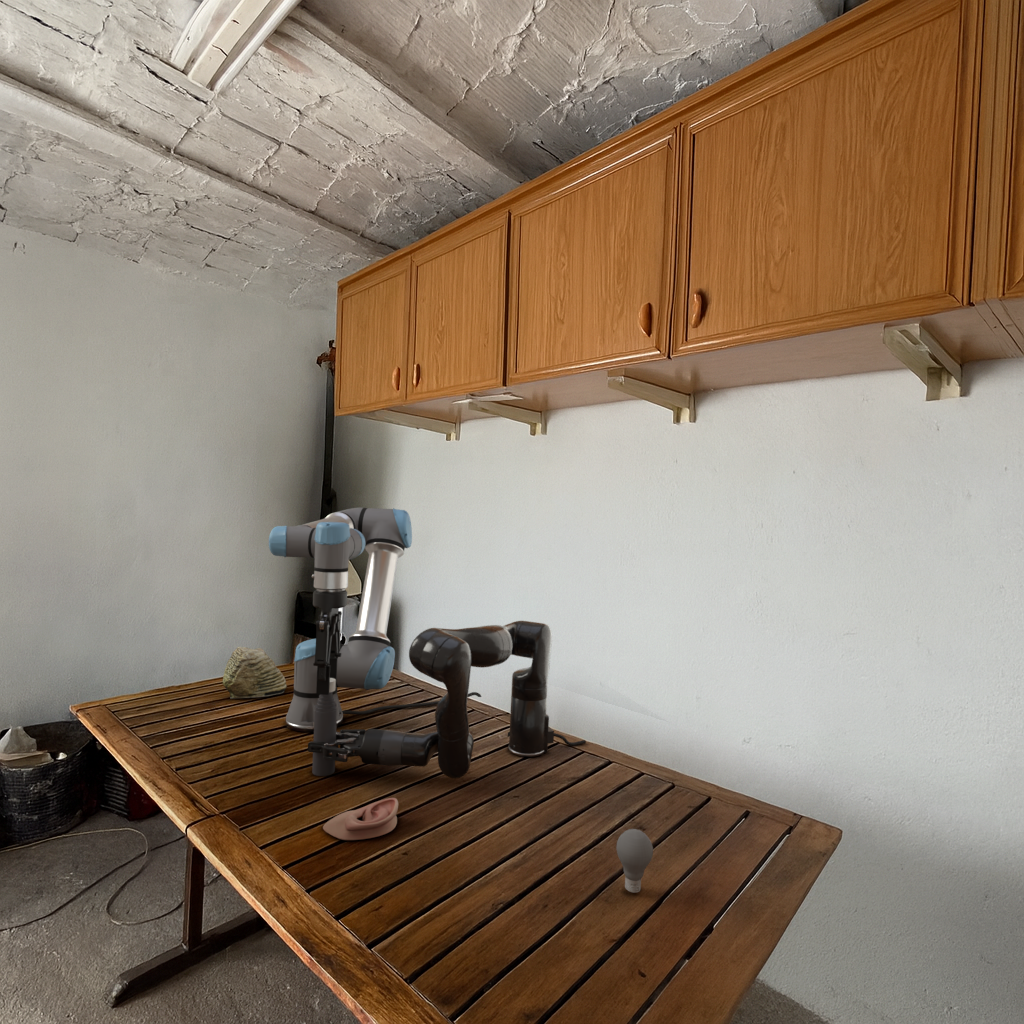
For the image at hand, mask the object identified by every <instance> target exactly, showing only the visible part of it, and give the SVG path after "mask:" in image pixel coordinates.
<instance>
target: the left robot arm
mask: <svg viewBox="0 0 1024 1024" xmlns="http://www.w3.org/2000/svg"><path fill="white" fill-rule="evenodd" d="M412 543H413V528H412V521H411V517H410V515H409V512H408V511H407V510H405V509H398V508H394V507H393V508H376V507H351V508H347V509H343V510H339V511H335V512H332V513H329V514H328V515H327V516H326V517H324V518H321V519H318V520H315V521H311V522H307V523H303V524H298V525H293V526H292V525H291V526H290V525H277V526H274V527H273V528H272V529H271V530H270V533H269V537H268V549H269V551H270V553H271V554H272V555H273V556H275V557H284V558H304V559H305V558H306V559H314V568H313V570H314V571H313V573H312V575H311V578H312V579H313V588H314V591H312V606H313V607H314V608H316V609H320V610H321V611H320V614H319V615H318V620H316V622H315V629H316V632H315V638H312V639H307V640H304V641H302V642H300V643H298V644H297V645H296V647H295V655H294V659H293V661H294V670H293V671H294V672H293V695H292V696H293V697H292V699H291V702H290V704H289V708H288V711H287V713H286V715H285V726H286V728H287V729H289V730H291V731H294V732H295V731H296V732H301V733H314V713H315V706H316V704H317V701H318V698H319V695H329V688H330V678H334V679H336V687H335V691H333V692H332V694H333V695H334V698H335V701H336V704H337V725H336V728H337V727H339V726H340V725H342V723H343V722H344V715H356V716H361V715H362V716H363V715H368V714H372V713H375V712H379V711H384V710H395V709H406V708H407V709H408V708H418V707H419V708H420V707H429V706H437V705H438V703H439V701H440V700H435V701H428V702H420V703H419V702H418V703H407V704H395V705H383V706H377V707H374V708H370V709H367V710H366V709H365V710H360V711H358V710H343V709H342V706H341V702H340V699H339V695H338V688H340V689H341V688H342V689H343V688H344V689H360V690H361V689H363V690H366V691H370V690H382V689H383V688H384V687H385V686H387V684H388V683H389V681H390V678H391V677H392V676H391V675H392V673H393V671H394V666H395V657H396V650H395V648H394V647H392V646H391V640H390V639H389V638H388V636H387V633H388V625H389V619H390V613H391V606H392V599H393V593H394V587H395V581H396V573H397V567H398V561H399V559H400V558H401V557H402V556H404V554H405V549H410V548H411V546H412ZM364 551H365V552H367V554H368V559H367V564H366V570H365V577H364V582H363V588H362V594H361V599H360V604H359V611H358V616H357V621H356V622H357V623H356V627H355V632H354V633H352V634H351V635H350V636H348V641H347V644H344V643H343V644H342V643H341V633H342V632H341V631H342V629H341V627H342V622H341V621H342V615H343V613H342V611H341V610H339V609H343V608H346V607H347V605H348V591H347V590H346V589H347V588H349V560H353V559H356V558H357V557H359V556H360V555H362V554H363V552H364ZM472 696H476V697H477V698H482V697H483V696H482V695H481V693H479V692H476V691H473V692H468V698H469V697H472Z"/></svg>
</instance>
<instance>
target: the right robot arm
mask: <svg viewBox="0 0 1024 1024" xmlns="http://www.w3.org/2000/svg"><path fill="white" fill-rule="evenodd" d="M552 632H553V631H552V629H551V627H550V625H549V624H547V623H544V622H537V621H529V620H515V621H512V622H510V623H507V624H504V625H502V624H489V625H480V626H472V627H464V628H463V627H462V628H444V627H443V628H442V627H429V628H427V629H424V630H423V631H421V632H420V633H419V634H418V635H416V637H415V638H414V639H413V641H412V642H411V644H410V646H409V649H408V659H409V662H410V664H411V666H412V667H413V668H414V669H416V670H417V671H418V672H419V673H421V674H423V675H425V676H427V677H429V678H430V679H433V680H435V681H437V682H439V683H442V684H444V686H445V688H446V693H445V694H444V695H443V696H442V698H440V700H438V701H439V703H438V704H436V707H435V711H434V719H435V727H436V731H432V732H428V733H416V732H415V733H414V732H406V731H405V732H403V731H400V730H392V729H391V730H390V729H377V728H367V730H366V729H364V728H361V729H357V728H356V729H354V728H353V729H351V728H349V729H340V730H339V731H336V740H335V742H328V743H325V742H314V741H313V740H311V741H309V742H308V743H307V752H309V753H313V752H315V753H324V755H323V758H324V759H329V760H334V761H335V762H340V763H347V762H348V761H349V759H348V758H353V757H360V759H361V762H362V763H363V764H364V765H365V764H366V765H377V766H388V767H389V766H390V767H393V766H394V767H395V766H396V767H397V766H406V767H416V768H423V767H426V766H427V765H428V764H429V763H430V760H431V759H432V757H433V756H434V755H435V754H436V753H437V763H438V767H439V770H440V772H441V773H442V774H443V775H444V776H446V777H448V778H449V779H455V780H456V779H460V778H462V777H464V776H465V775H466V774H467V773H468V772H469V770H470V767H471V763H472V757H473V750H474V744H475V741H474V740H475V739H474V737H473V735H472V734H471V733H470V724H469V723H470V722H469V714H468V698H469V697H468V694H469V691H470V682H471V672H472V667H473V668H483V669H485V668H491V667H495V666H499V665H501V664H503V663H505V662H506V661H507V660H508V659H509V658H510V657H511V656H515V657H520V658H526V659H531V660H532V661H531V665H530V666H529V667H528V666H527V667H524V668H519V669H517V670H515V671H513V673H512V674H511V690H510V691H511V694H510V715H509V731H508V732H507V738H508V751H509V752H510V753H511V754H513V755H515V756H519V757H522V758H523V757H524V758H534V757H540V756H542V755H544V754H548V751H549V750H548V747H549V744H554V739H555V738H559V739H561V740H562V742H564V743H565V745H567V746H571V747H572V746H573V747H576V746H580V745H584V744H586V743H587V742H586V741H587V740H585V739H583V740H578V741H574V742H572V741H568V739H567V738H566V737H565V736H564V735H562V734H559V733H556V732H555V731H554V730H553V729H552V728H551V727H550V716H549V714H547V701H548V682H549V675H550V666H551V655H552V645H553V633H552ZM331 746H335V747H331Z"/></svg>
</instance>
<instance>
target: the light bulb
mask: <svg viewBox="0 0 1024 1024" xmlns="http://www.w3.org/2000/svg"><path fill="white" fill-rule="evenodd" d="M615 849H616V854H617V857H618V859H619V861H620V863H621V865H622V867H623V873H624V874H623V875H624V876H625V878H624V888H625V890H627V891H628V892H630V893H634V894H635V893H639V892H640V891H641V889H642V887H641V886H642V879H643V877H644V875H645V871H646V868H647V867H648V866H649V864H650V863H651V861H652V859H653V855H654V847H653V843H652V841H651V838H649V836H648V835H647V834H646V833H645V832H643V831H642V830H641V829H636V828H629V829H627V830H625V831H623V832H622V833H621V834H620V835H619V837H618V839H617V841H616V847H615Z"/></svg>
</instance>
